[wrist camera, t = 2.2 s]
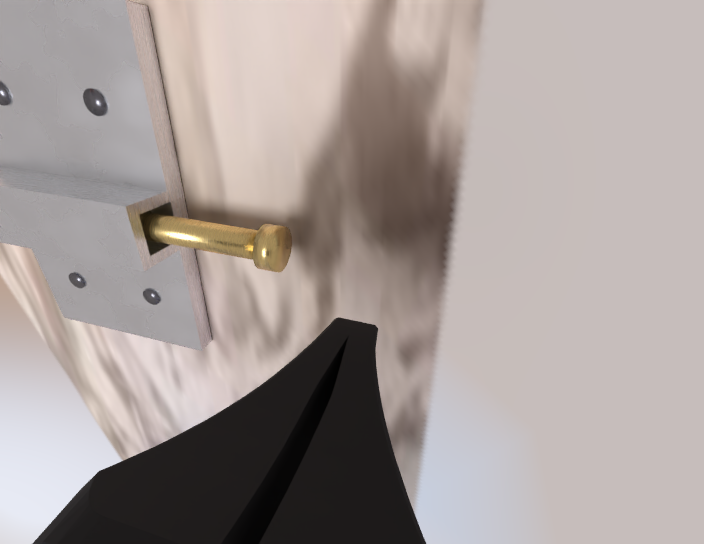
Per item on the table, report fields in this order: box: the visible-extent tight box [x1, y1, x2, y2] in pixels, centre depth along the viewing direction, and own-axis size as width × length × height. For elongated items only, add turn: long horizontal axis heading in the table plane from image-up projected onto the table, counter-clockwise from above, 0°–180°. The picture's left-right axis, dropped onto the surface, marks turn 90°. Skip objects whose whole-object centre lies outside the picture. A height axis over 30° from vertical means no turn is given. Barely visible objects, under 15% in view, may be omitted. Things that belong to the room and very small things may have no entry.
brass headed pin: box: [139, 212, 292, 272], centre depth 17 cm, size 13×2×2 cm, turn 86°
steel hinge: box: [0, 0, 212, 351], centre depth 19 cm, size 12×20×4 cm, turn 176°
